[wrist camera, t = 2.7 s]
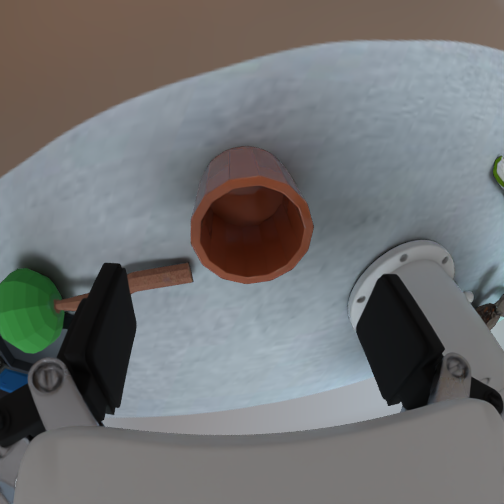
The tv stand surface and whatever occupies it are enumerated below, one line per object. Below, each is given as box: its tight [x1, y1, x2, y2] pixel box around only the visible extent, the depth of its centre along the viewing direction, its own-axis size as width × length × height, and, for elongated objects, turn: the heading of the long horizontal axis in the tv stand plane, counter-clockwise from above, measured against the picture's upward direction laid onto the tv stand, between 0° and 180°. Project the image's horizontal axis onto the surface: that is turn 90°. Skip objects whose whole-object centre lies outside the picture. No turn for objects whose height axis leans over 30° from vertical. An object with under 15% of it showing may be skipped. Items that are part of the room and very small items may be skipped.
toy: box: [475, 294, 504, 330], centre depth 27 cm, size 19×10×15 cm
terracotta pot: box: [191, 146, 314, 284], centre depth 18 cm, size 6×6×6 cm
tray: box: [0, 314, 74, 374], centre depth 27 cm, size 16×12×2 cm
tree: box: [0, 263, 193, 354], centre depth 21 cm, size 8×8×20 cm
